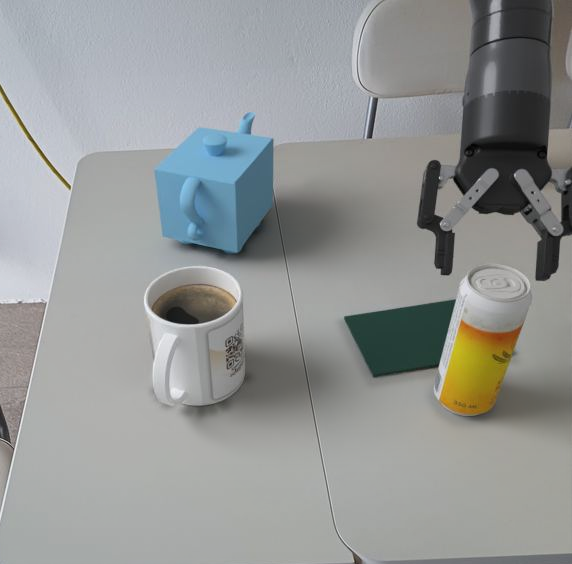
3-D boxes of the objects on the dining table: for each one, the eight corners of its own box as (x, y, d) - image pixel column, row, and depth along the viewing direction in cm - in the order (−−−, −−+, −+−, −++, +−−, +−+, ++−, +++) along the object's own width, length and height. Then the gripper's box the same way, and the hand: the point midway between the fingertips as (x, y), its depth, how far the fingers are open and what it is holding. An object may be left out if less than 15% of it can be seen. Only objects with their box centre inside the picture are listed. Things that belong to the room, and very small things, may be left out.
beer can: (501, 419, 64) (546, 301, 54) (440, 421, 65) (473, 304, 54) (483, 376, 69) (521, 259, 59) (426, 377, 69) (454, 262, 59)
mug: (265, 387, 69) (265, 307, 61) (165, 433, 65) (152, 353, 57) (217, 332, 76) (212, 254, 68) (123, 371, 72) (107, 292, 64)
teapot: (229, 275, 84) (225, 178, 75) (154, 257, 88) (141, 163, 78) (287, 194, 99) (289, 105, 89) (220, 182, 102) (216, 95, 93)
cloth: (471, 299, 78) (471, 296, 78) (512, 354, 71) (513, 351, 71) (344, 318, 77) (344, 316, 76) (373, 377, 69) (373, 374, 69)
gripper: (433, 86, 58) (420, 266, 57) (605, 87, 55) (593, 275, 55) (421, 118, 65) (409, 278, 65) (572, 121, 63) (561, 287, 62)
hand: (494, 277), depth 60 cm, fingers open, 8 cm apart
